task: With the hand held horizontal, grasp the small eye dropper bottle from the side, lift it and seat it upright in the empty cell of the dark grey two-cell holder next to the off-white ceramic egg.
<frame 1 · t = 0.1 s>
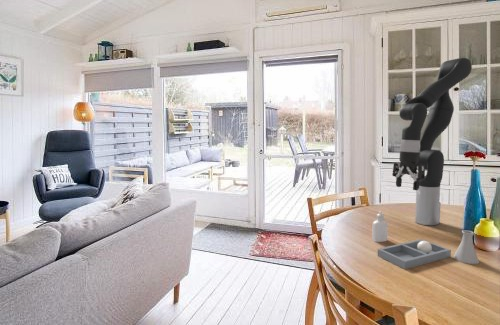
hand: (406, 188, 134), 17 cm above the table, tool pointing down, fingers open, 8 cm apart
ceramic egg: (424, 253, 107), point 1 cm above the table, touching holder
eye dropper bottle: (379, 242, 120), on the table
flask: (466, 261, 102), on the table
holder: (413, 257, 105), on the table
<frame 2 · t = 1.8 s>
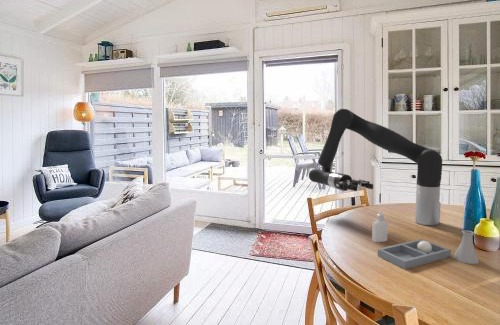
hand: (364, 187, 130), 19 cm above the table, tool horizontal, fingers open, 8 cm apart
nothing on the table moved.
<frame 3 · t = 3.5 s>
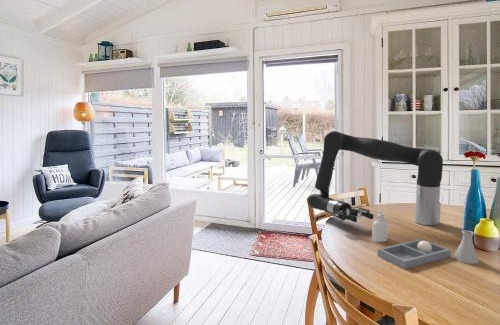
hand: (364, 218, 127), 7 cm above the table, tool horizontal, fingers open, 8 cm apart
nothing on the table moved.
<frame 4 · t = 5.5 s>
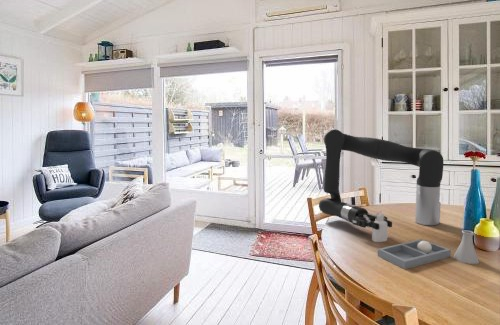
hand: (385, 225, 117), 7 cm above the table, tool horizontal, fingers closed on eye dropper bottle, 5 cm apart
eye dropper bottle: (379, 242, 120), on the table, touching gripper
everything else where it was.
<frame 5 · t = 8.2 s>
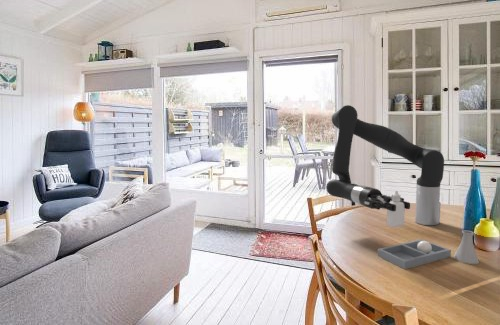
hand: (402, 207, 103), 18 cm above the table, tool horizontal, fingers closed on eye dropper bottle, 5 cm apart
eye dropper bottle: (395, 225, 106), point 11 cm above the table, touching gripper
everything else where it was.
when the fingers open (9 cm above the table, at t = 10.7 s): eye dropper bottle drops 1 cm, resting on holder.
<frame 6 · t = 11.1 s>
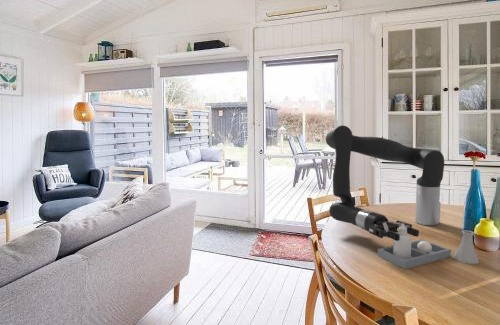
hand: (408, 235, 100), 9 cm above the table, tool horizontal, fingers open, 8 cm apart
eye dropper bottle: (401, 259, 103), resting on holder
everything else where it was.
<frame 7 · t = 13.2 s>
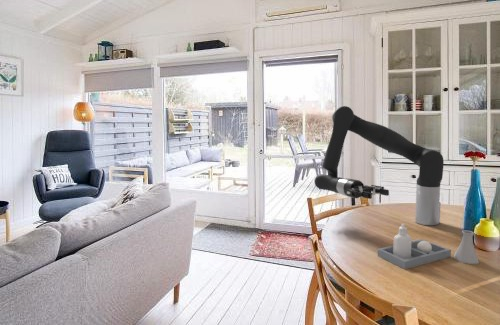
hand: (379, 194, 116), 19 cm above the table, tool horizontal, fingers open, 8 cm apart
nothing on the table moved.
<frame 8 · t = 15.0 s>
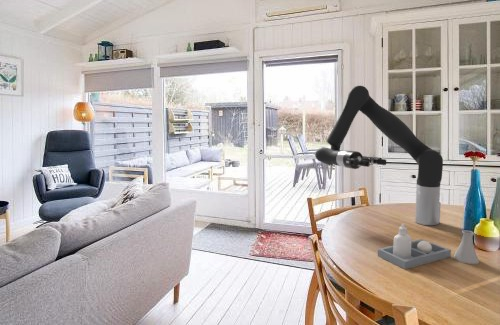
hand: (377, 163, 121), 30 cm above the table, tool horizontal, fingers open, 8 cm apart
nothing on the table moved.
at the end: eye dropper bottle inside the target area on the holder (0.2 cm from its centre), point 0.4 cm above the holder's base; eye dropper bottle tilted 0°; the gripper is holding nothing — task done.
